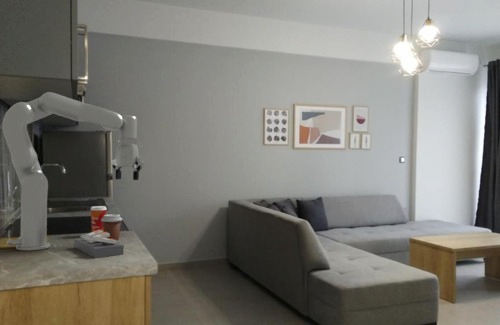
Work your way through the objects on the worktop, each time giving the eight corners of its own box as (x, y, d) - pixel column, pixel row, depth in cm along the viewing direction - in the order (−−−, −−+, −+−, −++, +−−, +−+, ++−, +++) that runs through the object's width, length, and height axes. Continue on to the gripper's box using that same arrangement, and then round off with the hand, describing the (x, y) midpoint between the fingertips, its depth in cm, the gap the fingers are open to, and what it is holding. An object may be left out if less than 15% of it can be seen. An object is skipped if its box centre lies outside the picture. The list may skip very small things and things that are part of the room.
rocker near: (96, 241, 158) (97, 237, 158) (92, 239, 162) (93, 236, 162) (116, 243, 163) (117, 240, 163) (111, 242, 167) (112, 238, 167)
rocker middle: (90, 243, 164) (90, 240, 163) (86, 241, 167) (86, 238, 167) (110, 236, 169) (109, 233, 168) (106, 234, 172) (105, 231, 172)
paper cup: (87, 235, 203) (87, 206, 203) (102, 233, 208) (103, 205, 208) (93, 237, 197) (94, 207, 197) (109, 235, 203) (109, 207, 203)
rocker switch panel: (95, 258, 155) (95, 246, 155) (74, 247, 173) (74, 237, 173) (123, 254, 162) (123, 243, 162) (100, 244, 180) (100, 234, 180)
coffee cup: (121, 239, 194) (121, 213, 194) (122, 242, 185) (123, 216, 185) (100, 240, 190) (101, 214, 190) (100, 243, 182) (101, 216, 182)
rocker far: (84, 240, 169) (84, 237, 169) (81, 238, 172) (80, 235, 172) (103, 233, 174) (102, 230, 174) (99, 232, 177) (99, 229, 177)
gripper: (107, 142, 191) (106, 179, 191) (138, 142, 185) (137, 180, 184) (117, 142, 198) (116, 178, 198) (148, 143, 192) (147, 180, 191)
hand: (126, 179), depth 191 cm, fingers open, 9 cm apart
